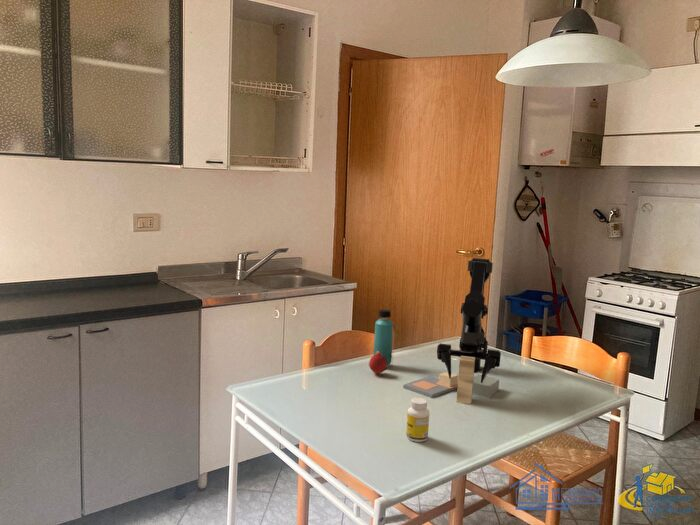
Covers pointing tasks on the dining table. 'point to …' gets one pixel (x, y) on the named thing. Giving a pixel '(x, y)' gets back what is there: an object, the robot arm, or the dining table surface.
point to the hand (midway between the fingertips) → (465, 380)
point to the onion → (378, 363)
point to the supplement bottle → (418, 420)
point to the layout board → (433, 385)
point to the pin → (465, 379)
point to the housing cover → (485, 386)
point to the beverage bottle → (384, 336)
